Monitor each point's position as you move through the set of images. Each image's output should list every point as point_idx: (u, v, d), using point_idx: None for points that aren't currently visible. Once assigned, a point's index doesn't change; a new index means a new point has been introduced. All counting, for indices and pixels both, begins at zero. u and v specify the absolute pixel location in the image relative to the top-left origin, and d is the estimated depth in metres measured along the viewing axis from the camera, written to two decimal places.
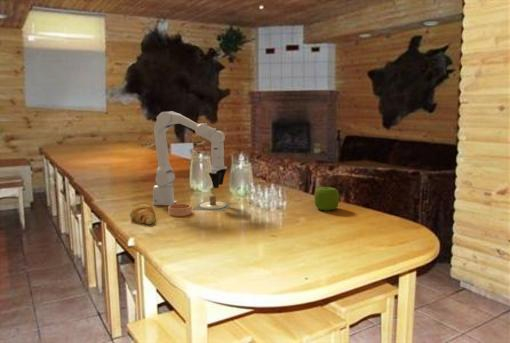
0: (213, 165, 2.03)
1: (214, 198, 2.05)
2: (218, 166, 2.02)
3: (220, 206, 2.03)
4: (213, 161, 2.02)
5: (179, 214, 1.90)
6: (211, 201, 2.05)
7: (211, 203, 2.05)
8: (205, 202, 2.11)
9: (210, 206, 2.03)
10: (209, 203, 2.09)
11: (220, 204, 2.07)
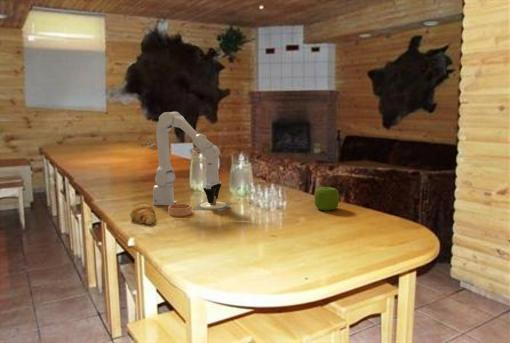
0: (208, 180, 2.03)
1: (214, 198, 2.05)
2: (213, 181, 2.02)
3: (220, 206, 2.03)
4: (208, 176, 2.02)
5: (179, 214, 1.90)
6: None
7: (211, 203, 2.05)
8: (205, 202, 2.11)
9: (210, 206, 2.03)
10: (209, 203, 2.09)
11: (220, 204, 2.07)
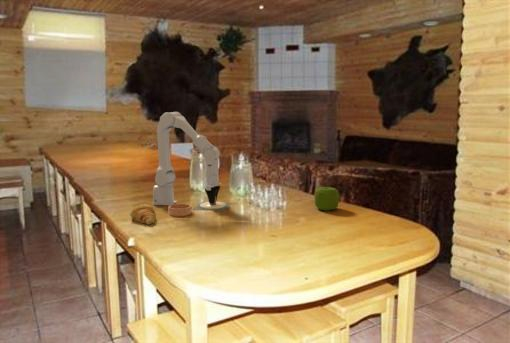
0: (208, 182, 2.03)
1: None
2: (213, 183, 2.02)
3: (220, 206, 2.03)
4: (208, 178, 2.02)
5: (179, 214, 1.90)
6: None
7: None
8: (205, 202, 2.11)
9: (210, 206, 2.03)
10: (209, 203, 2.09)
11: (220, 204, 2.07)
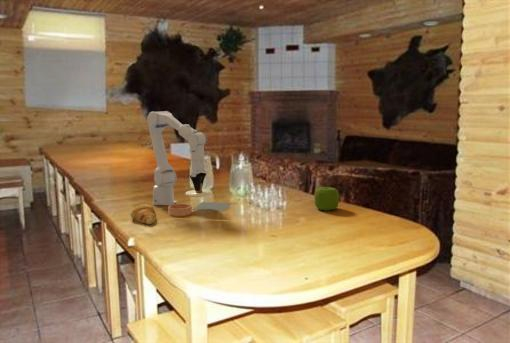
0: (193, 168, 1.96)
1: None
2: (198, 169, 1.96)
3: (206, 193, 1.97)
4: (193, 164, 1.96)
5: (179, 214, 1.90)
6: None
7: (197, 191, 1.99)
8: (191, 190, 2.04)
9: (196, 194, 1.97)
10: (195, 191, 2.02)
11: (206, 192, 2.01)
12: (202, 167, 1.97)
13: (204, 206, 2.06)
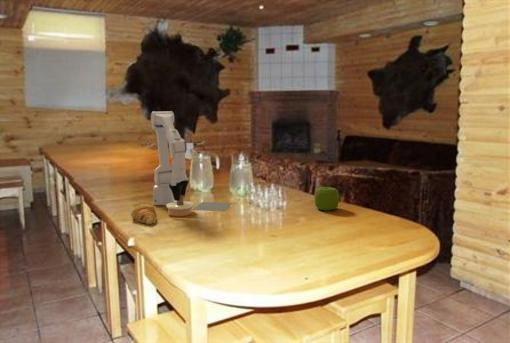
0: (173, 176, 1.90)
1: (181, 198, 1.93)
2: (179, 177, 1.90)
3: (188, 206, 1.91)
4: (173, 172, 1.90)
5: (179, 214, 1.90)
6: (178, 201, 1.93)
7: (178, 203, 1.93)
8: (172, 202, 1.98)
9: (177, 206, 1.91)
10: (176, 203, 1.96)
11: (188, 204, 1.95)
12: (183, 175, 1.91)
13: (204, 206, 2.06)
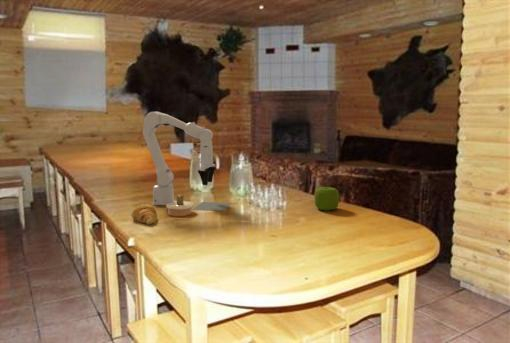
0: (202, 163, 2.08)
1: (181, 198, 1.93)
2: (207, 164, 2.07)
3: (188, 206, 1.91)
4: (202, 159, 2.08)
5: (179, 214, 1.90)
6: (178, 201, 1.93)
7: (178, 203, 1.93)
8: (172, 202, 1.98)
9: (177, 206, 1.91)
10: (176, 203, 1.96)
11: (188, 204, 1.95)
12: (211, 162, 2.08)
13: (204, 206, 2.06)
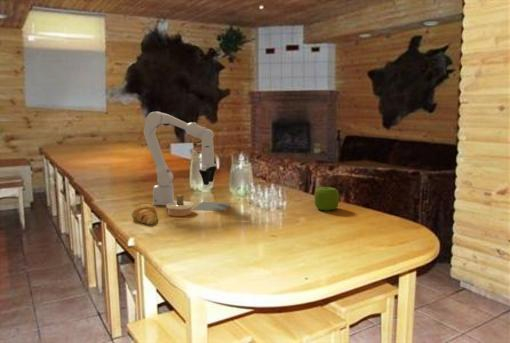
0: (203, 162, 2.09)
1: (181, 198, 1.93)
2: (208, 163, 2.08)
3: (188, 206, 1.91)
4: (203, 159, 2.09)
5: (179, 214, 1.90)
6: (178, 201, 1.93)
7: (178, 203, 1.93)
8: (172, 202, 1.98)
9: (177, 206, 1.91)
10: (176, 203, 1.96)
11: (188, 204, 1.95)
12: (212, 161, 2.09)
13: (204, 206, 2.06)
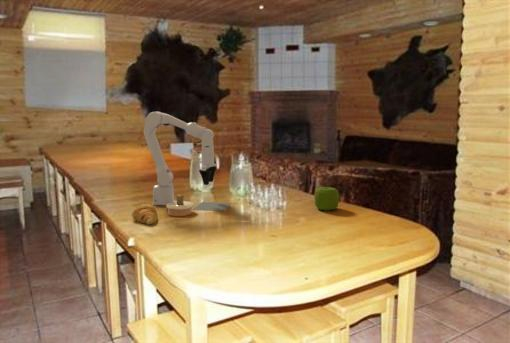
0: (203, 162, 2.09)
1: (181, 198, 1.93)
2: (208, 163, 2.08)
3: (188, 206, 1.91)
4: (203, 159, 2.09)
5: (179, 214, 1.90)
6: (178, 201, 1.93)
7: (178, 203, 1.93)
8: (172, 202, 1.98)
9: (177, 206, 1.91)
10: (176, 203, 1.96)
11: (188, 204, 1.95)
12: (212, 161, 2.09)
13: (204, 206, 2.06)
